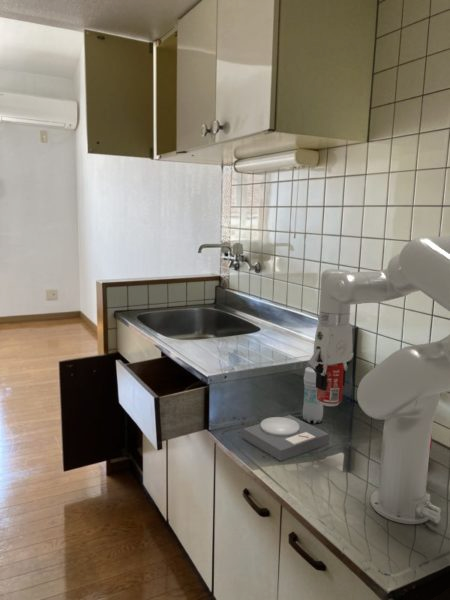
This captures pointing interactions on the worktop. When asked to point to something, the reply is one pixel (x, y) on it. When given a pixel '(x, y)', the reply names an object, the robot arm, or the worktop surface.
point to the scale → (285, 437)
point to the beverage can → (332, 386)
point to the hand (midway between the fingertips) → (330, 385)
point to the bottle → (311, 398)
